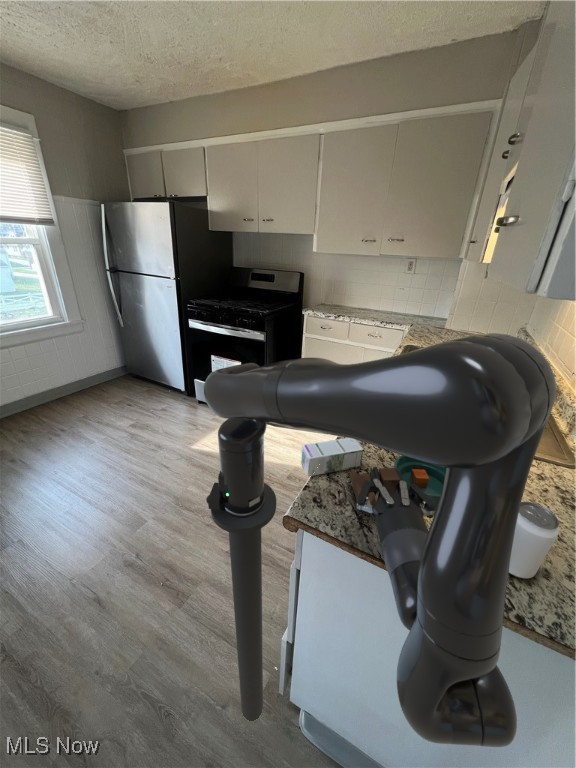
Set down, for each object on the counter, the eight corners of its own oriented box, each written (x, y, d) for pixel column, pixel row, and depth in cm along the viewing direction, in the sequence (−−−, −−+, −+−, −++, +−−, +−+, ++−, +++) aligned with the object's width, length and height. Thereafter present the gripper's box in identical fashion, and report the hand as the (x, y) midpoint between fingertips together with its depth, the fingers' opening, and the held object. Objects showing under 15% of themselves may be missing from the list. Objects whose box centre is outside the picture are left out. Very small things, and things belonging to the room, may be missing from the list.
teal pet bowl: (398, 511, 67) (403, 493, 65) (384, 467, 79) (388, 451, 77) (467, 516, 66) (473, 499, 64) (442, 471, 79) (446, 455, 77)
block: (426, 488, 72) (429, 478, 71) (413, 487, 72) (416, 477, 71) (422, 479, 75) (424, 469, 74) (409, 478, 75) (412, 469, 74)
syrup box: (353, 435, 81) (300, 443, 78) (364, 449, 76) (308, 458, 73) (351, 453, 84) (299, 461, 80) (361, 468, 79) (306, 477, 75)
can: (513, 543, 60) (536, 497, 55) (544, 576, 55) (573, 527, 49) (484, 549, 59) (505, 502, 54) (513, 583, 53) (540, 534, 48)
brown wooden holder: (401, 518, 63) (413, 479, 58) (362, 519, 63) (370, 480, 57) (383, 475, 73) (391, 438, 68) (349, 476, 73) (355, 439, 67)
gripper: (462, 534, 45) (423, 458, 60) (363, 526, 46) (350, 453, 61) (449, 568, 48) (416, 487, 64) (357, 561, 49) (346, 483, 64)
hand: (384, 471), depth 62 cm, fingers closed on brown wooden holder, 3 cm apart
